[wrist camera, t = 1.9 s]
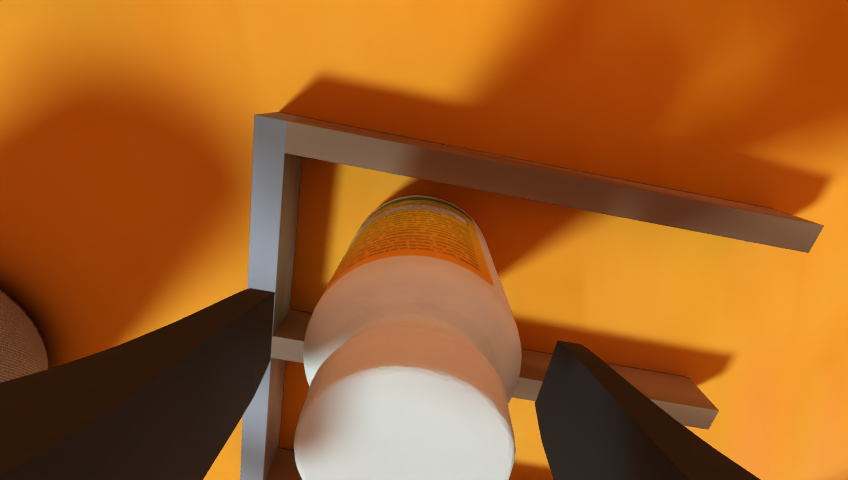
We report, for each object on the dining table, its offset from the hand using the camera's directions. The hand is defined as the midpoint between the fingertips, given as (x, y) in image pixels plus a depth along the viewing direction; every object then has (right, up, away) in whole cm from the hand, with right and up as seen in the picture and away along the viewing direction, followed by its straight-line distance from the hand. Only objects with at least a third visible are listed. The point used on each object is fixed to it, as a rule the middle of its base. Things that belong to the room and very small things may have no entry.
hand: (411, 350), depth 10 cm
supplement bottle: (0, +2, +6) cm, 7 cm away
